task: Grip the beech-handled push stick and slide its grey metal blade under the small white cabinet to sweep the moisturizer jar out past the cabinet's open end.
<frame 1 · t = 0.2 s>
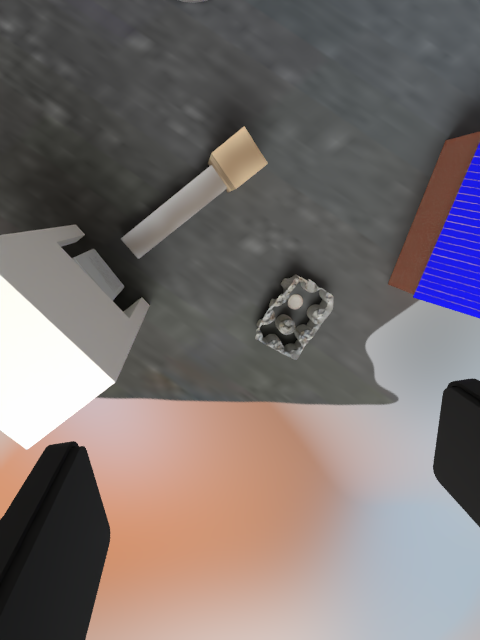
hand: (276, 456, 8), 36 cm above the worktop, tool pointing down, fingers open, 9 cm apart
egg carton: (289, 311, 47), on the worktop
cabinet: (87, 288, 42), on the worktop
push stick: (231, 167, 40), on the worktop
house: (447, 227, 46), on the worktop
skincare box: (91, 280, 42), on the worktop
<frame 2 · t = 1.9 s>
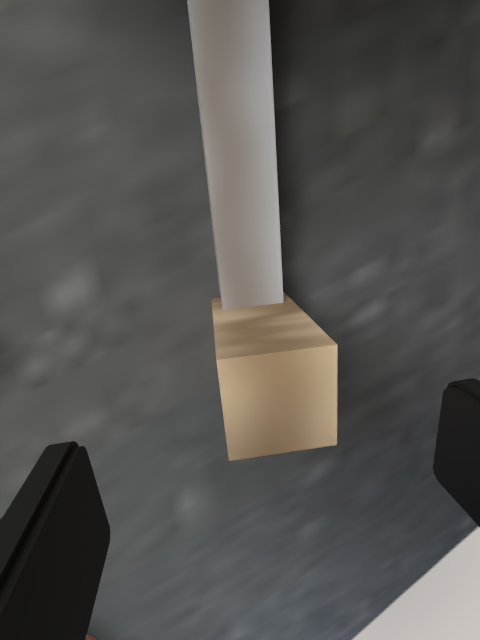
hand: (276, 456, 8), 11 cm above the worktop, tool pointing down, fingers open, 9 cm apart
push stick: (250, 328, 19), on the worktop
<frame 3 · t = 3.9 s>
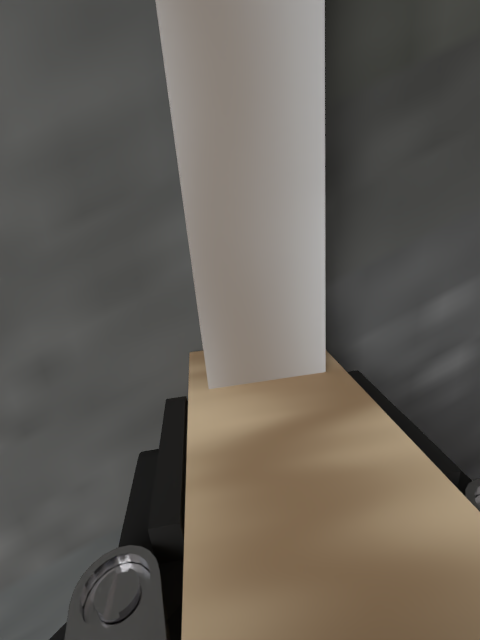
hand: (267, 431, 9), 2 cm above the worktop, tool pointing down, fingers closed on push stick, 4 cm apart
push stick: (256, 397, 11), on the worktop, touching gripper
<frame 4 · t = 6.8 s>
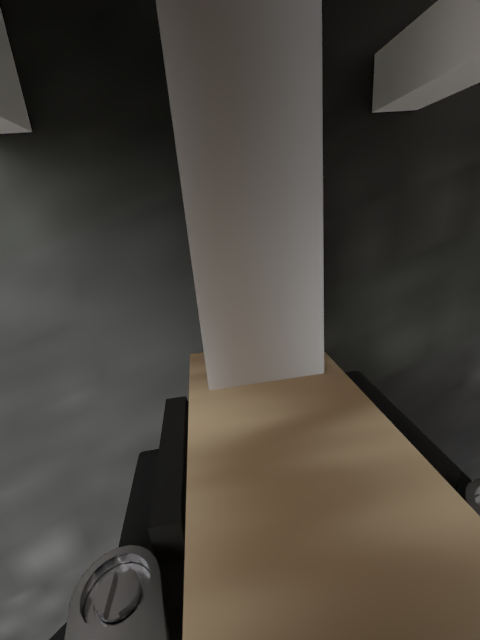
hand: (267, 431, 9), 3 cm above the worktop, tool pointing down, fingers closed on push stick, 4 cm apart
push stick: (256, 398, 11), point 1 cm above the worktop, touching skincare box, gripper
when the fingers open (2 cm above the worktop, at t = 9.8 s): push stick stays where it is, on the worktop.
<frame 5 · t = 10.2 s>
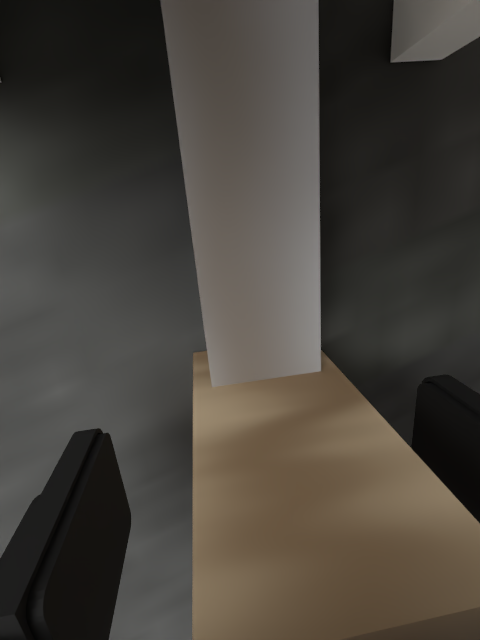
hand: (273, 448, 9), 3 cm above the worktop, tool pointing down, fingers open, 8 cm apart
push stick: (256, 395, 12), on the worktop
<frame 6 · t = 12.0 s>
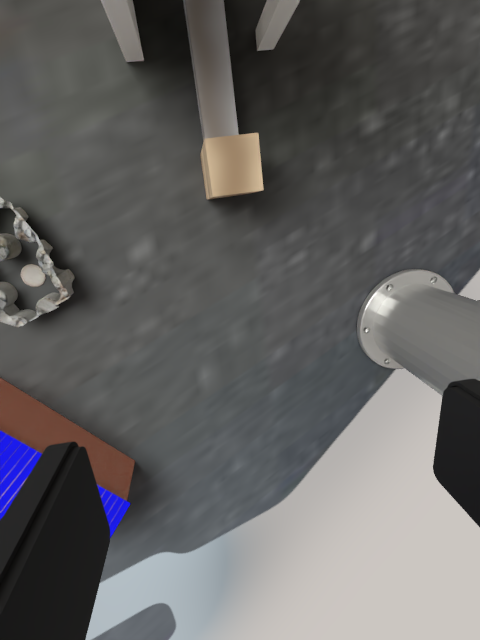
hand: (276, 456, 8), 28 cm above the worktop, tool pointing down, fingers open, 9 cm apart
egg carton: (21, 261, 32), on the worktop
push stick: (223, 175, 32), on the worktop
house: (39, 449, 39), on the worktop
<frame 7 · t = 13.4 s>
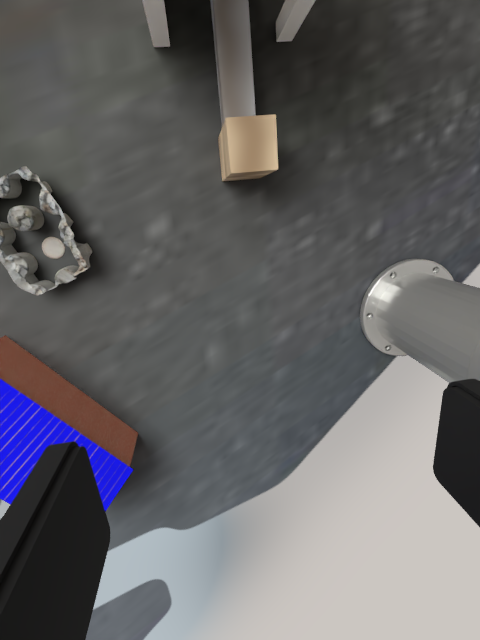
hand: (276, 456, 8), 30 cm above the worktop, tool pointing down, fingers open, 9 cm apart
egg carton: (43, 233, 34), on the worktop
push stick: (239, 158, 34), on the worktop
house: (47, 415, 41), on the worktop
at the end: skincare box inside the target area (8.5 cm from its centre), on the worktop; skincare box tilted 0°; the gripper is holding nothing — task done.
